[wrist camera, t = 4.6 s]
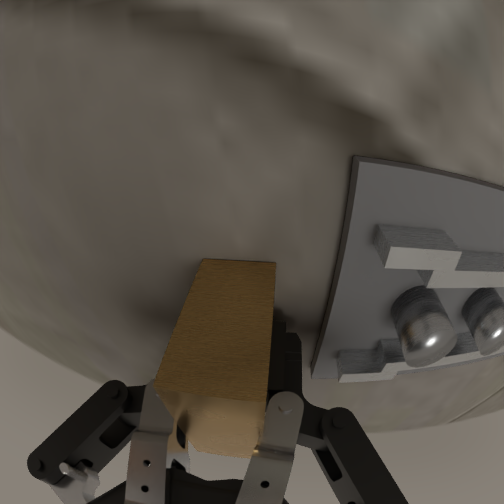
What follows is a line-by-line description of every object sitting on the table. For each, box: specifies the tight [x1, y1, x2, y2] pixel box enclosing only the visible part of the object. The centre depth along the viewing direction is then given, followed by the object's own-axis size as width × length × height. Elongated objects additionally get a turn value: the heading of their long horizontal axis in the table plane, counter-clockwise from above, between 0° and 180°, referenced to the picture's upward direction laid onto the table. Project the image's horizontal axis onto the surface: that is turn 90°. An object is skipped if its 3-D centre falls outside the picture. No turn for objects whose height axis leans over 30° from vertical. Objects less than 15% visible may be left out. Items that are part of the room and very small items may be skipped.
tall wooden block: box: [153, 259, 276, 458], centre depth 11 cm, size 3×7×6 cm, turn 0°
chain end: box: [336, 224, 504, 383], centre depth 9 cm, size 13×8×3 cm, turn 90°
